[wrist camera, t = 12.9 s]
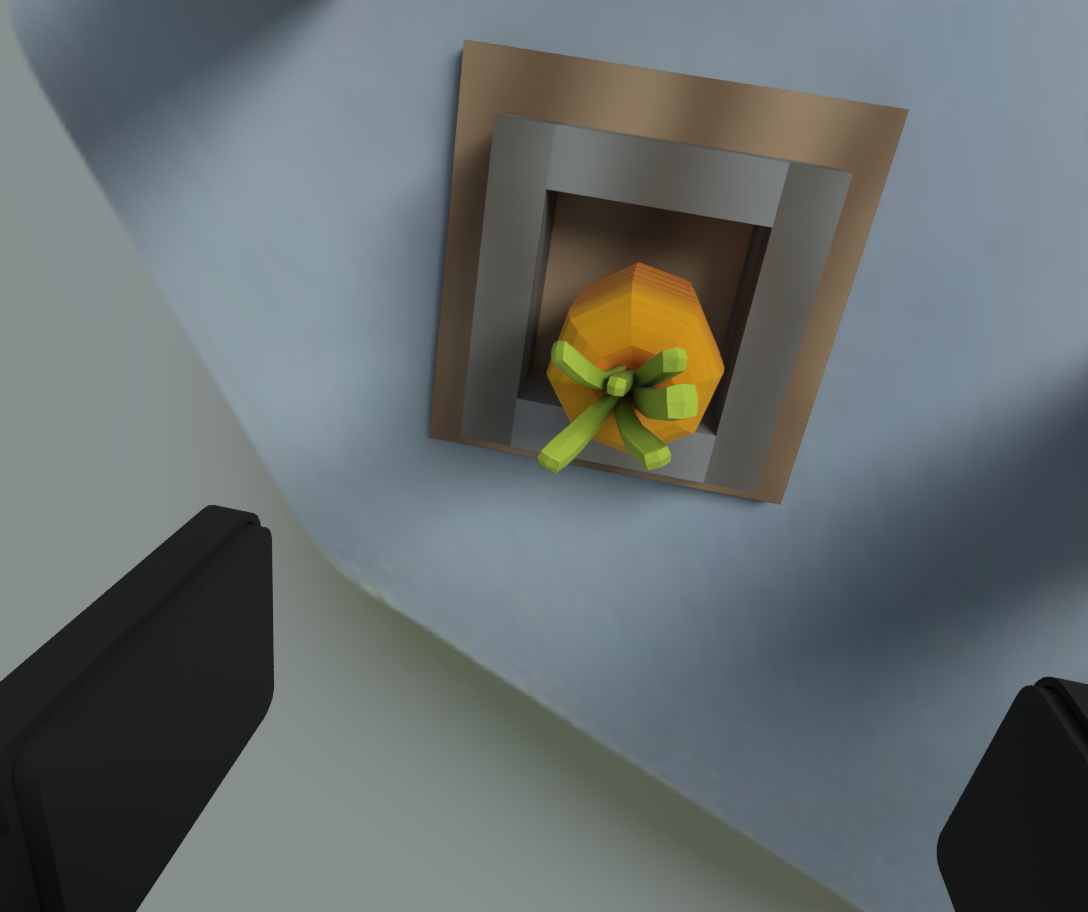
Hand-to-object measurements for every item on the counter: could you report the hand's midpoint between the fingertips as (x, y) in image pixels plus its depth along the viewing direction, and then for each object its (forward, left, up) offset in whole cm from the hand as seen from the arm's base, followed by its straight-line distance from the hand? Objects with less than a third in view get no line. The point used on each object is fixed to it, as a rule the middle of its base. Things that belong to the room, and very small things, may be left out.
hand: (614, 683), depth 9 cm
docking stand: (0, 0, -24) cm, 24 cm away
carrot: (0, 0, -23) cm, 23 cm away
